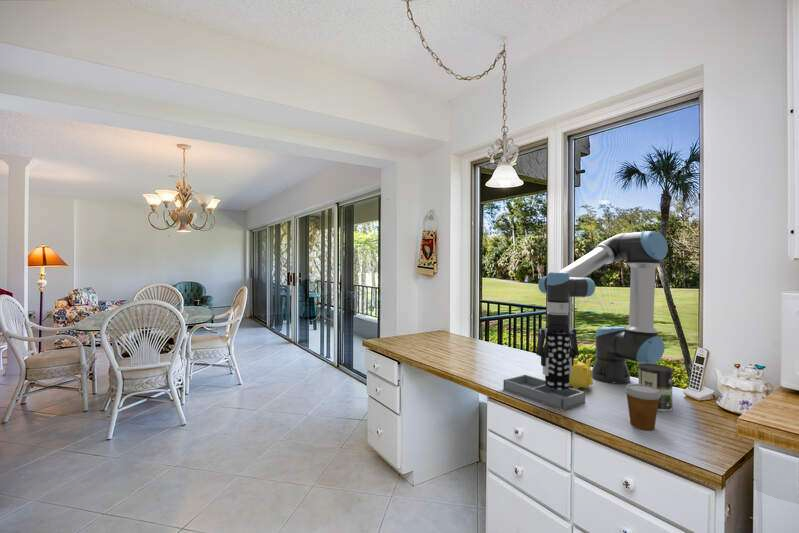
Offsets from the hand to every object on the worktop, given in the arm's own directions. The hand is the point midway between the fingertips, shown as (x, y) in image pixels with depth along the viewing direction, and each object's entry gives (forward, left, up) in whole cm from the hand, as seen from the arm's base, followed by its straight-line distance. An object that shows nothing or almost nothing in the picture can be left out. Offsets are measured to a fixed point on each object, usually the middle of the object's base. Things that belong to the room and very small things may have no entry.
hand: (557, 374), depth 140 cm
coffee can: (-34, -2, -10) cm, 35 cm away
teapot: (-12, -19, -10) cm, 24 cm away
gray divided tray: (+4, -5, -10) cm, 12 cm away
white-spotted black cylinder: (0, 0, -5) cm, 5 cm away
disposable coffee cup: (-22, +18, -10) cm, 30 cm away
